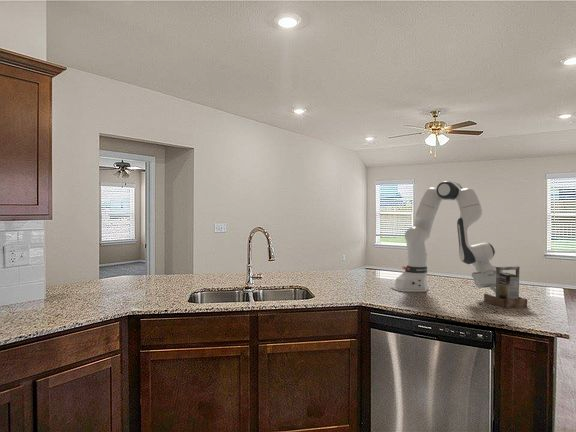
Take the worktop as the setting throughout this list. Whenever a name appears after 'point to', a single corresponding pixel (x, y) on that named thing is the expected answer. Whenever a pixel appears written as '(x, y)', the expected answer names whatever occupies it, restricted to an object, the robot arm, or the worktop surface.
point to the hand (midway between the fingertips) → (498, 292)
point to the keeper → (501, 302)
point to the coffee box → (508, 286)
